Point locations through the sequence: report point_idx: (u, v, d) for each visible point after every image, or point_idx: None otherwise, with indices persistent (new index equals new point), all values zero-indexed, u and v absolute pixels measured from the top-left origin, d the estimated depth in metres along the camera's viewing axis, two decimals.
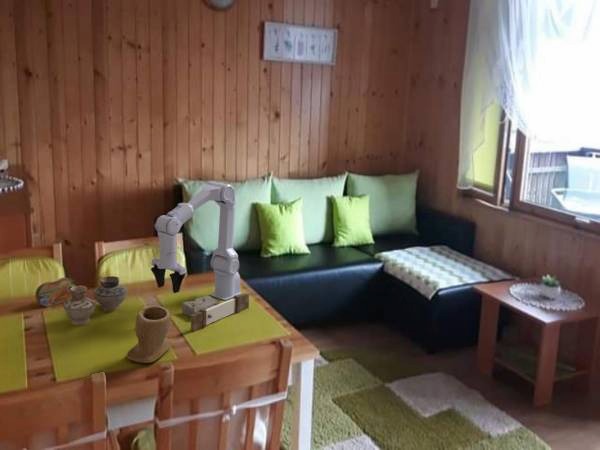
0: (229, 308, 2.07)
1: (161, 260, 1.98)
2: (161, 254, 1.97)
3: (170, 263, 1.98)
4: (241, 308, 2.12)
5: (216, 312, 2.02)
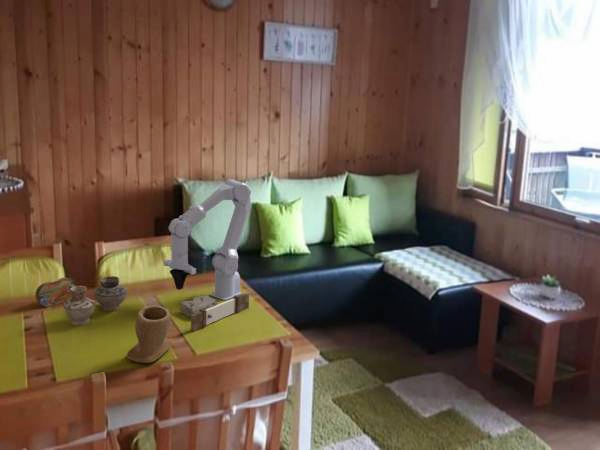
0: (229, 308, 2.07)
1: (173, 261, 2.10)
2: (173, 255, 2.10)
3: (182, 264, 2.10)
4: (241, 308, 2.12)
5: (216, 312, 2.02)
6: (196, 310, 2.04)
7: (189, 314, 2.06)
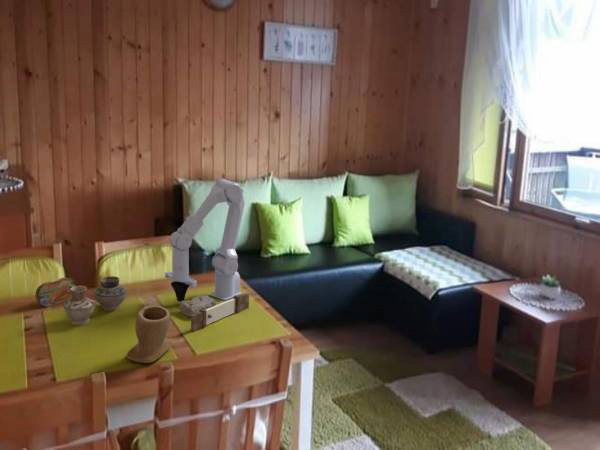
0: (229, 308, 2.07)
1: (174, 273, 2.11)
2: (174, 268, 2.10)
3: (183, 276, 2.11)
4: (241, 308, 2.12)
5: (216, 312, 2.02)
6: (195, 310, 2.04)
7: (188, 314, 2.06)
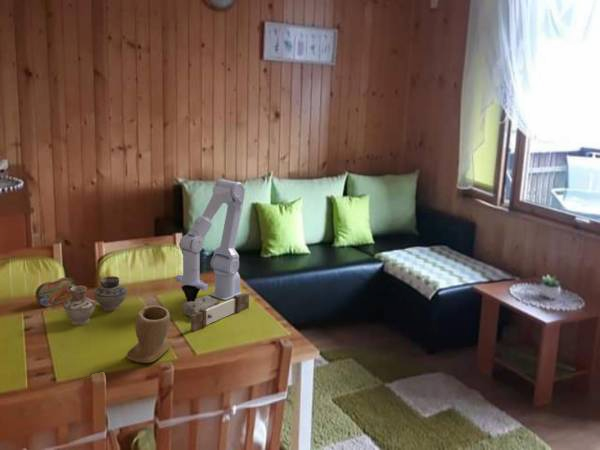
0: (229, 308, 2.07)
1: (185, 277, 2.08)
2: (185, 271, 2.07)
3: (193, 280, 2.08)
4: (241, 308, 2.12)
5: (216, 312, 2.02)
6: None
7: None
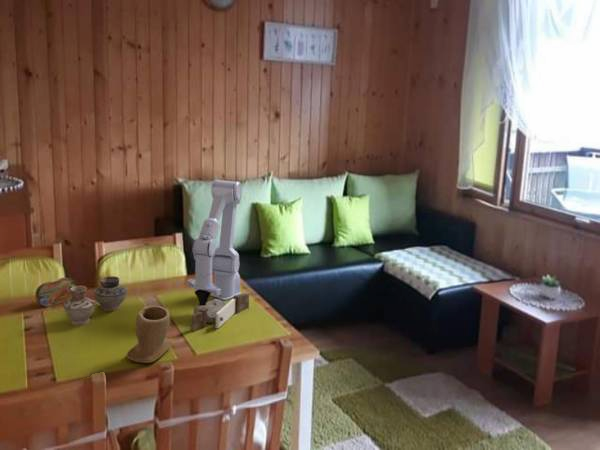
0: (232, 308, 2.07)
1: (197, 281, 2.04)
2: (197, 275, 2.04)
3: (206, 284, 2.04)
4: (241, 308, 2.12)
5: (224, 314, 2.01)
6: (211, 315, 2.00)
7: None
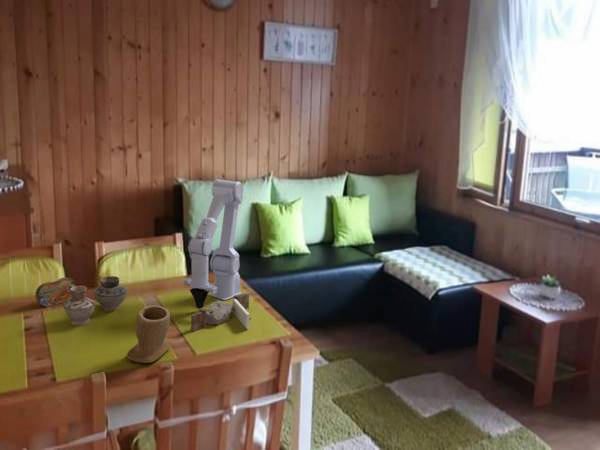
0: None
1: (193, 280, 2.06)
2: (194, 274, 2.05)
3: (202, 283, 2.06)
4: None
5: None
6: (218, 317, 1.99)
7: (210, 321, 2.00)
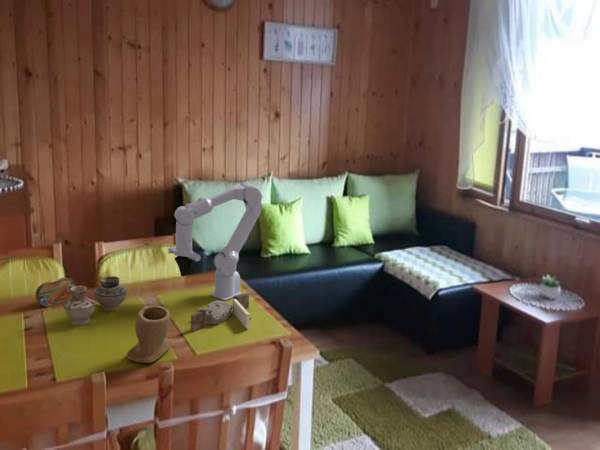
0: None
1: (178, 248, 2.13)
2: (178, 242, 2.13)
3: (186, 251, 2.13)
4: None
5: None
6: (216, 316, 2.00)
7: (208, 321, 2.01)
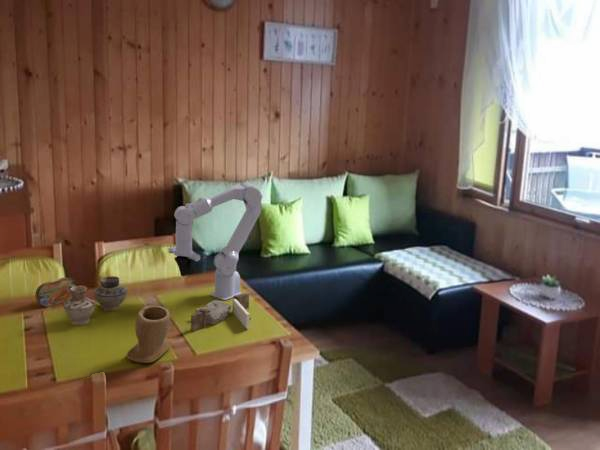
0: None
1: (178, 248, 2.13)
2: (178, 242, 2.13)
3: (186, 251, 2.13)
4: None
5: None
6: (215, 316, 2.00)
7: (207, 321, 2.01)
